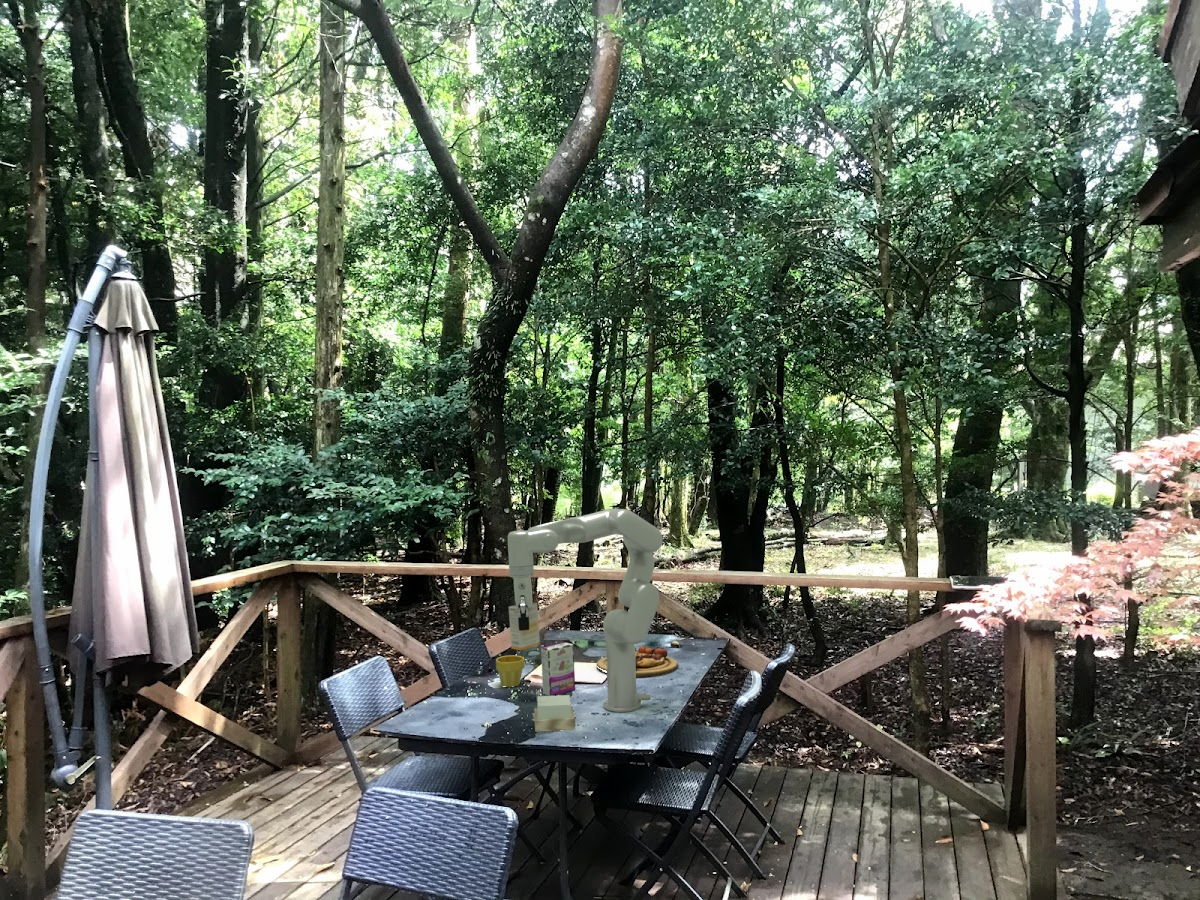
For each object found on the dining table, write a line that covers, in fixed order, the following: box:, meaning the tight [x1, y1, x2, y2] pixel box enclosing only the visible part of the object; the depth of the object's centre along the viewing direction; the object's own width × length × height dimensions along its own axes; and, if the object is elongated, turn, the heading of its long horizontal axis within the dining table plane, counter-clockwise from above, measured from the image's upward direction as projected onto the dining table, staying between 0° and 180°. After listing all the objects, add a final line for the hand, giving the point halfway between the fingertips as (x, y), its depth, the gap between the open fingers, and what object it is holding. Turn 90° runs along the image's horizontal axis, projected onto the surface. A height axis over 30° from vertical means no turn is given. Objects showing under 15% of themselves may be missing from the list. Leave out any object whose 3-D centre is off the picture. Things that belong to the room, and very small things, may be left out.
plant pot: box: [495, 654, 525, 687], centre depth 283 cm, size 10×10×10 cm
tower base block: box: [533, 705, 576, 733], centre depth 239 cm, size 12×12×4 cm
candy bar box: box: [540, 642, 576, 696], centre depth 273 cm, size 11×5×16 cm, turn 130°
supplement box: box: [508, 601, 541, 651], centre depth 239 cm, size 8×5×13 cm, turn 140°
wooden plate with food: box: [596, 644, 679, 678], centre depth 305 cm, size 32×32×8 cm
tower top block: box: [537, 694, 572, 720], centre depth 239 cm, size 10×10×4 cm
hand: (524, 626), depth 239 cm, fingers closed on supplement box, 9 cm apart
